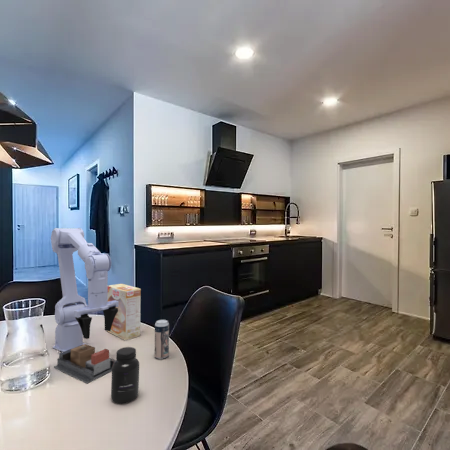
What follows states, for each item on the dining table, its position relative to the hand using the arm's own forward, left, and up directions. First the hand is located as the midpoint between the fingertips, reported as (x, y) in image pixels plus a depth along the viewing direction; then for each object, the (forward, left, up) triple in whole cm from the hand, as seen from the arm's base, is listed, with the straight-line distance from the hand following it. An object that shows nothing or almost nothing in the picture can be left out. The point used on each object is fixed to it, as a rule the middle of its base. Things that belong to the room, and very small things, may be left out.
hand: (97, 334), depth 91 cm
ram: (+5, -3, -9) cm, 11 cm away
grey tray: (-1, -3, -10) cm, 10 cm away
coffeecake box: (-14, +22, -10) cm, 28 cm away
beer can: (+14, +15, -10) cm, 23 cm away
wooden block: (-3, -3, -9) cm, 10 cm away
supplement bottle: (+22, -7, -10) cm, 25 cm away
